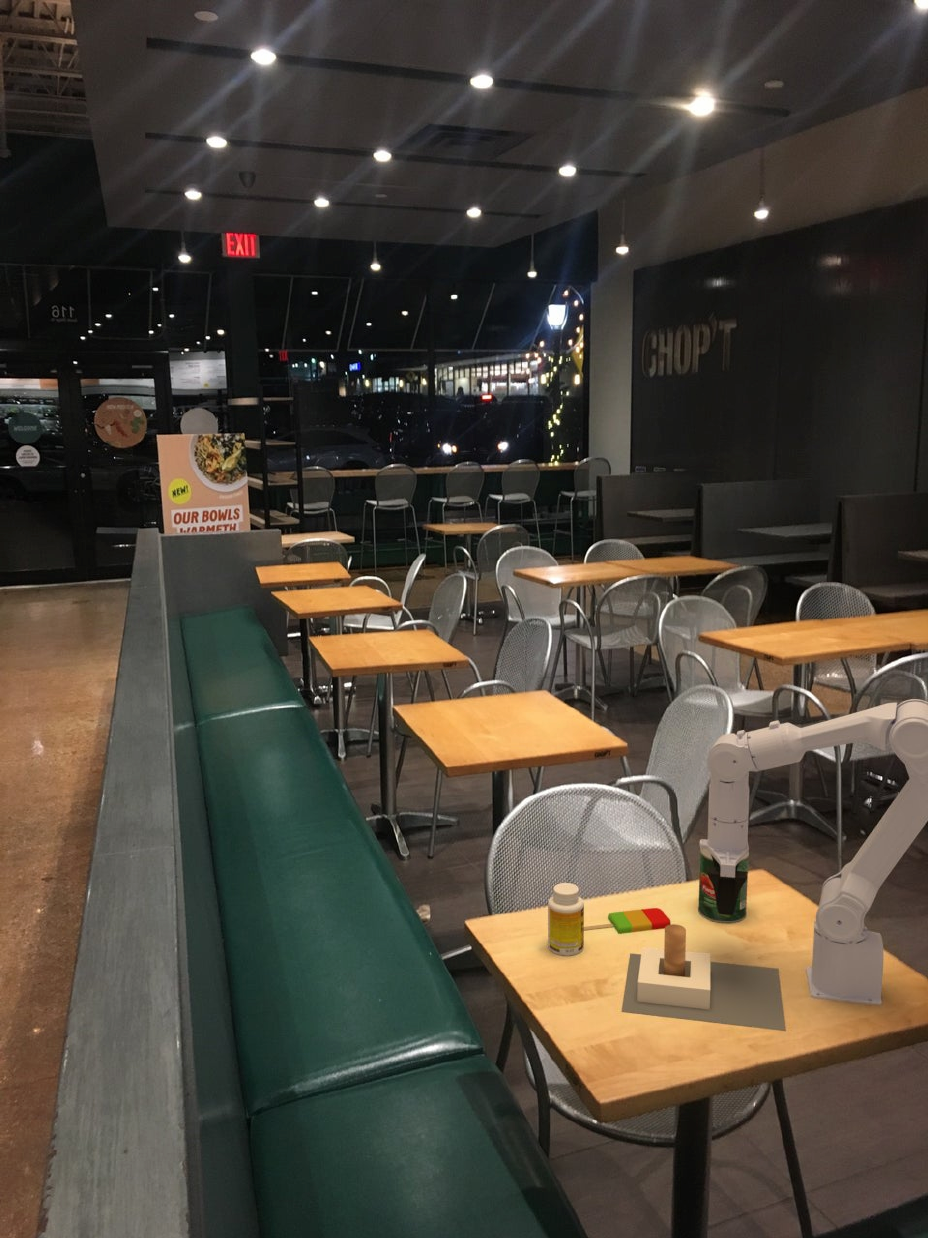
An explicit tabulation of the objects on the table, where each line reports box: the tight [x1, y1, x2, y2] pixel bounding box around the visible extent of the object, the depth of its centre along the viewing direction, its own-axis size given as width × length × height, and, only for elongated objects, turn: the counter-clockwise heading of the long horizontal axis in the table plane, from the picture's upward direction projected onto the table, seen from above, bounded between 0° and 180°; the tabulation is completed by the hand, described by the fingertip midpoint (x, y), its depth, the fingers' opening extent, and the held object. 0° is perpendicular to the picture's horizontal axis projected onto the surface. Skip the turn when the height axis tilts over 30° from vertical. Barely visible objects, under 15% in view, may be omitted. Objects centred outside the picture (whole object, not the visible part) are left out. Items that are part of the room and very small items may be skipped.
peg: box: [663, 923, 687, 977], centre depth 146 cm, size 3×3×9 cm
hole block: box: [637, 946, 711, 1010], centre depth 147 cm, size 10×10×3 cm
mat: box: [621, 953, 787, 1032], centre depth 146 cm, size 22×16×1 cm
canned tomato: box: [697, 847, 750, 924], centre depth 168 cm, size 8×8×11 cm
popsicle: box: [584, 907, 671, 935], centre depth 166 cm, size 6×15×2 cm, turn 101°
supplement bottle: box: [547, 882, 585, 957], centre depth 158 cm, size 6×6×10 cm
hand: (725, 901), depth 151 cm, fingers open, 7 cm apart
